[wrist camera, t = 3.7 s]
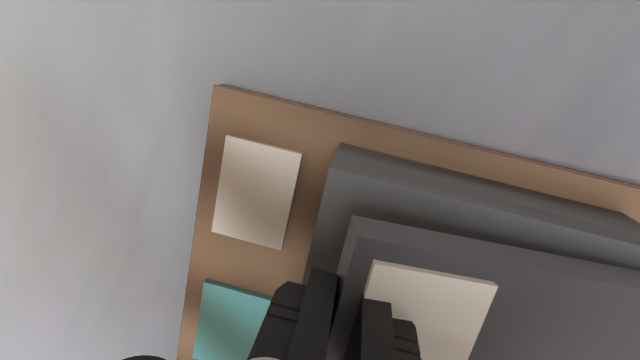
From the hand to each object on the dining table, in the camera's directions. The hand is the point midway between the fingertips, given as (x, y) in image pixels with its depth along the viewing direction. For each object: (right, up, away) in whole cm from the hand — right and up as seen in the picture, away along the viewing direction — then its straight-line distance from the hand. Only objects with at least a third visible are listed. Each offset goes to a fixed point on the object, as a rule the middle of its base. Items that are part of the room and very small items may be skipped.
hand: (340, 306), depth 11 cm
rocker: (+4, 0, +1) cm, 4 cm away
